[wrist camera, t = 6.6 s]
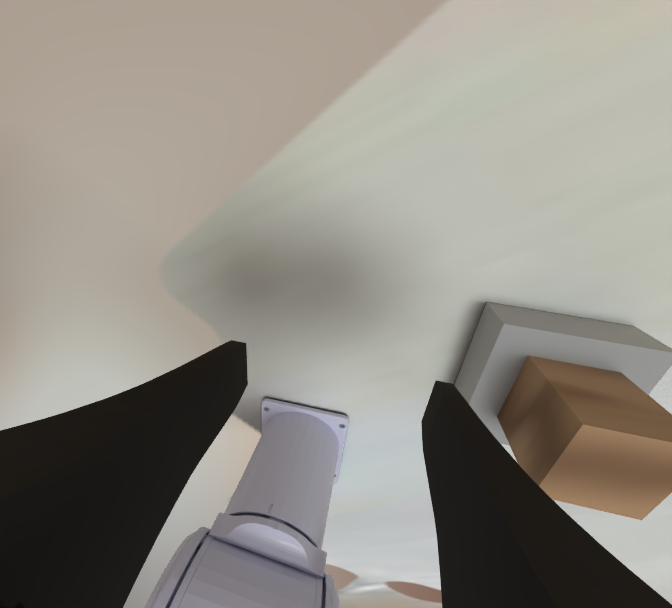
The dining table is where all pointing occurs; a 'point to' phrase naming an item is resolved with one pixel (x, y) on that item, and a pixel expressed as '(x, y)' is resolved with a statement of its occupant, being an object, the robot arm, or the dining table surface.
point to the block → (589, 437)
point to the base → (550, 354)
